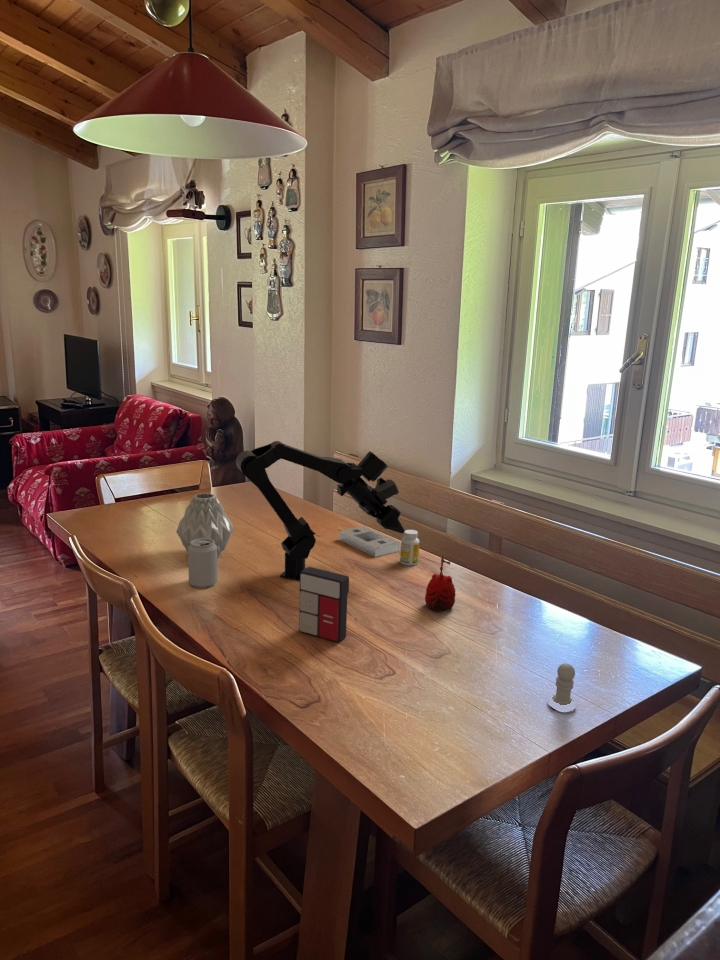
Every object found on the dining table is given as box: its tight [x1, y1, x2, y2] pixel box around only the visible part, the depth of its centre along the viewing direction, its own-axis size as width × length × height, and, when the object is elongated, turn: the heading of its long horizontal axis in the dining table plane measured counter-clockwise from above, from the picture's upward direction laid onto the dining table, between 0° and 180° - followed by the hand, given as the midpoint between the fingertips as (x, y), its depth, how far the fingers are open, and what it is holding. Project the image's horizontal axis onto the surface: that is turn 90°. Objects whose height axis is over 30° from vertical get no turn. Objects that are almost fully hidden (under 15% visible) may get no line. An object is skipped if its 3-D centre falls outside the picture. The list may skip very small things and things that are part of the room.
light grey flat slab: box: [338, 525, 400, 558], centre depth 222 cm, size 18×10×3 cm, turn 38°
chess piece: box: [552, 662, 576, 705], centre depth 137 cm, size 5×5×9 cm
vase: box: [175, 492, 235, 559], centre depth 207 cm, size 16×16×18 cm
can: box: [187, 538, 218, 589], centre depth 188 cm, size 8×8×12 cm
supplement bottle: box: [399, 529, 420, 567], centre depth 208 cm, size 5×5×10 cm
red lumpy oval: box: [424, 555, 456, 612], centre depth 178 cm, size 8×7×15 cm
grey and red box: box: [298, 566, 350, 643], centre depth 162 cm, size 11×4×15 cm, turn 62°
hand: (397, 527), depth 205 cm, fingers open, 9 cm apart
